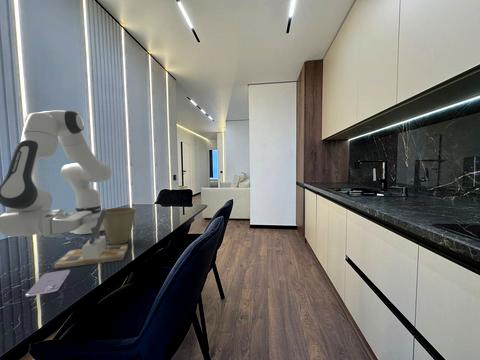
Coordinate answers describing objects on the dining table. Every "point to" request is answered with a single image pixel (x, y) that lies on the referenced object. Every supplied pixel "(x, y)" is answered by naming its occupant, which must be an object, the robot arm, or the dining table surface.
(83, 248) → the switch housing
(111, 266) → the dining table surface
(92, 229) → the aux switch
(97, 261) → the base
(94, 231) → the main switch
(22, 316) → the dining table surface
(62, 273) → the mobile phone
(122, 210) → the plant pot
